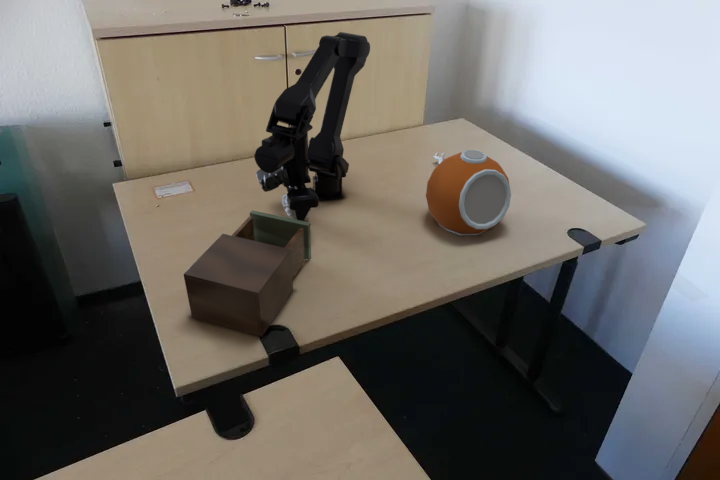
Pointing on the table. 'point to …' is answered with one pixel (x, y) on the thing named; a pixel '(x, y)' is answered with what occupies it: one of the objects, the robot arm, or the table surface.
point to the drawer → (279, 235)
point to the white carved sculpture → (290, 212)
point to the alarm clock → (468, 193)
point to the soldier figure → (439, 157)
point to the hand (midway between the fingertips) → (297, 215)
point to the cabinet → (240, 284)
